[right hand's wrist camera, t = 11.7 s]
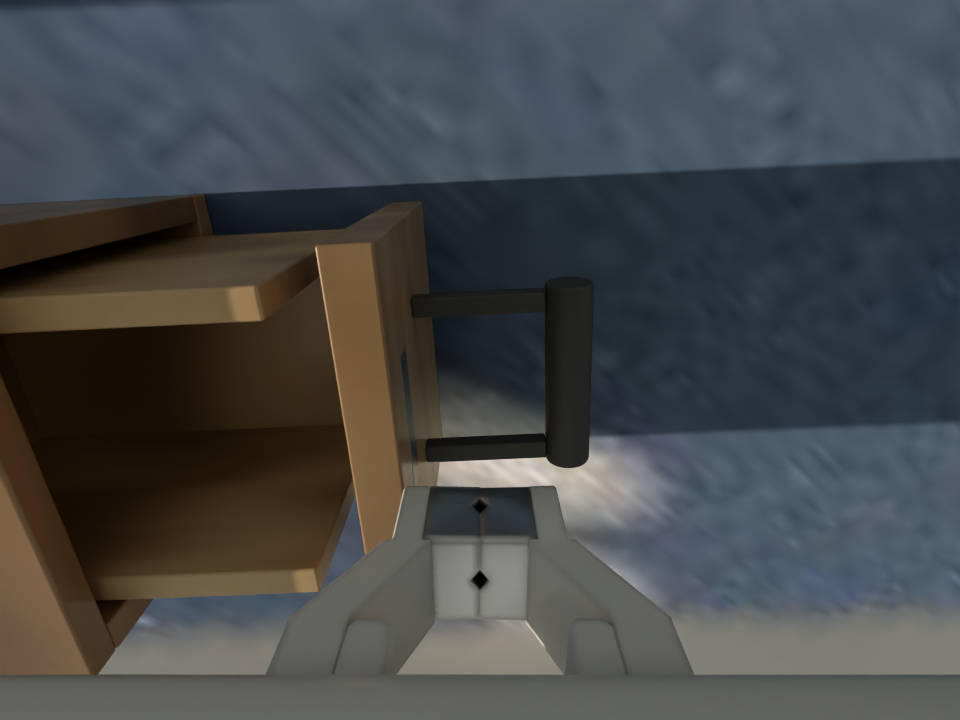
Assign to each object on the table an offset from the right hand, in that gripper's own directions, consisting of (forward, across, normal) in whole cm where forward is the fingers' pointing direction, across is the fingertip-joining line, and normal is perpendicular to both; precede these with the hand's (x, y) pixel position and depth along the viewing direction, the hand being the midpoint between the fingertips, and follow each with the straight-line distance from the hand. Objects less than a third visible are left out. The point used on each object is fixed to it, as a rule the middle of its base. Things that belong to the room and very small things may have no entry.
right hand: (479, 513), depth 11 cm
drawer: (+11, -8, 0) cm, 14 cm away
